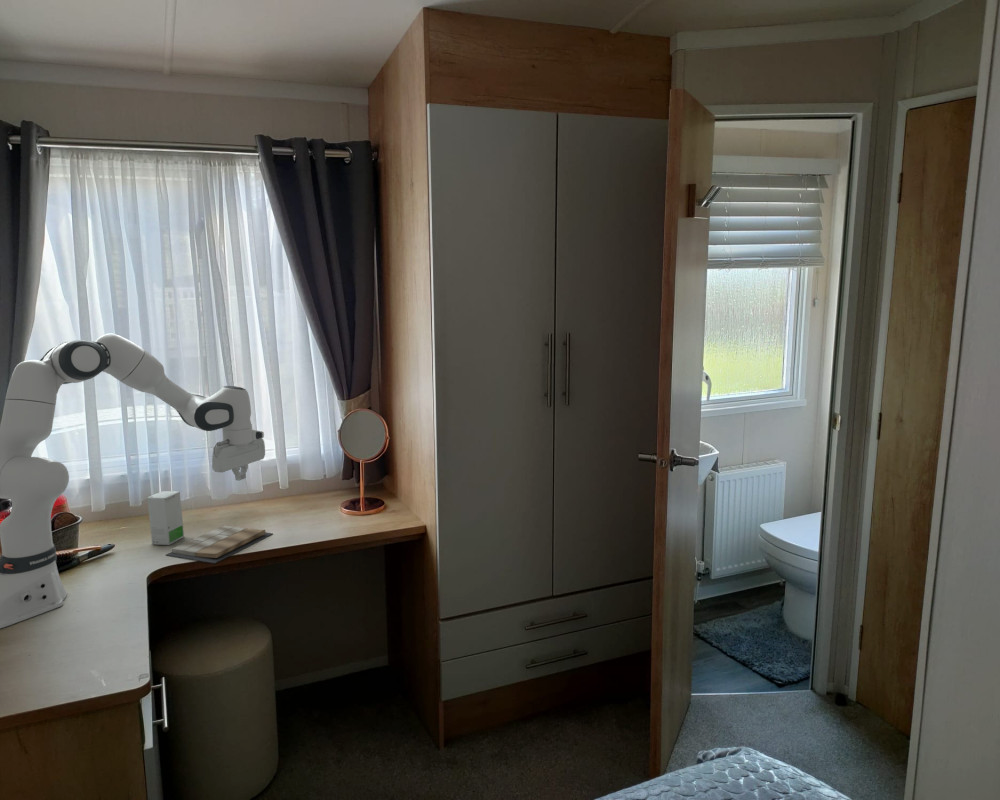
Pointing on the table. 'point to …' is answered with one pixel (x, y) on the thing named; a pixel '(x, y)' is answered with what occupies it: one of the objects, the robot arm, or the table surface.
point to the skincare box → (165, 517)
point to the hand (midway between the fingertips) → (240, 479)
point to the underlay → (215, 560)
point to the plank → (230, 543)
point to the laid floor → (205, 540)
